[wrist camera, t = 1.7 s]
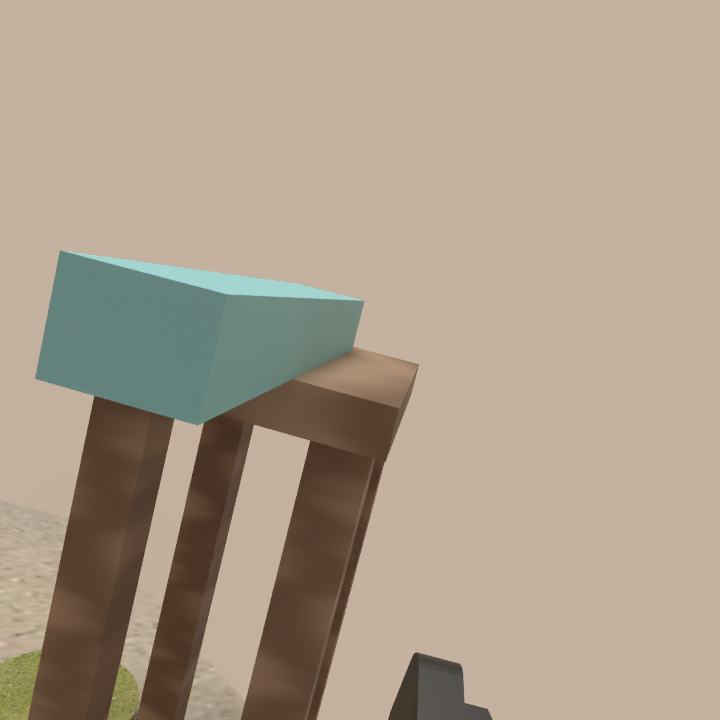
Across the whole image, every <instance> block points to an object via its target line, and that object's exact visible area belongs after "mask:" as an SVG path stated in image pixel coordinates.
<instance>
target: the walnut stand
mask: <svg viewBox="0 0 720 720" xmlns="http://www.w3.org/2000/svg"><path fill="white" fill-rule="evenodd" d="M418 366H419V364H415V363H411V362H407V361H404V360H400V359H396V358H393V357H389V356H385V355H381V354H377V353H374V352H369V351H366V350H362V349H359V348H355V347H353V348H352V350H351V351H349V352H347V353H345V354H343V355H341V356H339V357H337V358H335V359H333V360H331V361H329V362H327V363H325V364H323V365H321V366H318V367H316V368H314V369H312V370H310V371H308V372H306V373H304V374H302V375H300V376H298V377H296V378H294V379H292V380H290V381H288V382H286V383H284V384H282V385H280V386H277V387H275V388H273V389H271V390H269V391H267V392H265V393H263V394H261V395H259V396H257V397H255V398H253V399H251V400H249V401H247V402H245V403H243V404H241V405H239V406H237V407H234V408H232V409H230V410H228V411H226V412H224V413H222V414H220V415H218V416H216V417H214V418H212V419H210V420H208V421H206V422H204V425H203V430H202V434H201V439H200V443H199V447H198V452H197V456H196V461H195V465H194V469H193V474H192V478H191V482H190V487H189V491H188V496H187V500H186V505H185V509H184V514H183V518H182V522H181V526H180V531H179V535H178V539H177V544H176V548H175V553H174V557H173V561H172V566H171V570H170V575H169V579H168V583H167V588H166V592H165V597H164V601H163V605H162V610H161V614H160V618H159V623H158V627H157V632H156V636H155V640H154V645H153V649H152V654H151V658H150V662H149V667H148V671H147V675H146V680H145V684H144V689H143V693H142V697H141V702H140V706H139V711H138V715H137V719H136V720H184V717H185V712H186V708H187V704H188V700H189V696H190V691H191V687H192V683H193V679H194V674H195V670H196V666H197V662H198V658H199V653H200V649H201V645H202V640H203V637H204V632H205V628H206V624H207V620H208V615H209V611H210V607H211V603H212V598H213V594H214V590H215V585H216V582H217V578H218V573H219V569H220V564H221V561H222V557H223V552H224V548H225V544H226V540H227V535H228V531H229V527H230V523H231V519H232V514H233V510H234V506H235V501H236V497H237V493H238V489H239V485H240V480H241V477H242V472H243V468H244V464H245V460H246V455H247V451H248V447H249V443H250V439H251V434H252V430H253V426H254V425H258V426H261V427H265V428H268V429H272V430H275V431H279V432H282V433H286V434H289V435H293V436H296V437H300V438H304V439H307V440H310V445H309V448H308V452H307V457H306V460H305V465H304V469H303V472H302V476H301V480H300V484H299V489H298V493H297V496H296V500H295V505H294V508H293V513H292V517H291V521H290V525H289V529H288V533H287V537H286V541H285V545H284V549H283V553H282V557H281V561H280V565H279V569H278V573H277V577H276V581H275V585H274V589H273V593H272V597H271V601H270V605H269V609H268V613H267V617H266V621H265V625H264V629H263V634H262V637H261V641H260V645H259V649H258V653H257V657H256V661H255V665H254V669H253V673H252V677H251V681H250V685H249V689H248V693H247V697H246V701H245V705H244V709H243V713H242V717H241V720H317V716H318V712H319V709H320V705H321V701H322V697H323V693H324V690H325V686H326V682H327V678H328V674H329V671H330V667H331V663H332V659H333V655H334V652H335V648H336V644H337V640H338V637H339V633H340V629H341V625H342V621H343V617H344V614H345V610H346V606H347V602H348V598H349V594H350V591H351V587H352V583H353V579H354V575H355V572H356V568H357V564H358V561H359V557H360V553H361V549H362V546H363V541H364V538H365V534H366V530H367V527H368V523H369V519H370V515H371V511H372V508H373V504H374V500H375V496H376V492H377V489H378V484H379V481H380V477H381V474H382V470H383V466H384V462H385V461H386V459H387V456H388V454H389V451H390V448H391V446H392V443H393V441H394V438H395V435H396V433H397V430H398V428H399V425H400V422H401V419H402V417H403V414H404V412H405V409H406V407H407V404H408V401H409V399H410V396H411V393H412V389H413V385H414V381H415V377H416V374H417V370H418ZM173 422H174V418H170V417H167V416H163V415H160V414H156V413H153V412H149V411H146V410H142V409H139V408H135V407H132V406H129V405H125V404H122V403H118V402H115V401H111V400H108V399H104V398H101V397H97V396H94V400H93V405H92V410H91V415H90V420H89V425H88V429H87V435H86V439H85V444H84V449H83V454H82V458H81V464H80V469H79V474H78V478H77V483H76V488H75V493H74V498H73V502H72V507H71V512H70V517H69V521H68V526H67V531H66V536H65V541H64V546H63V551H62V555H61V560H60V565H59V570H58V575H57V580H56V585H55V589H54V594H53V599H52V604H51V609H50V614H49V618H48V623H47V628H46V633H45V638H44V643H43V648H42V652H41V657H40V662H39V667H38V672H37V677H36V681H35V686H34V691H33V696H32V701H31V706H30V711H29V715H28V720H107V719H108V715H109V710H110V706H111V701H112V697H113V692H114V688H115V683H116V679H117V674H118V670H119V665H120V661H121V656H122V652H123V647H124V643H125V638H126V634H127V629H128V625H129V620H130V616H131V611H132V607H133V602H134V598H135V593H136V589H137V584H138V580H139V575H140V571H141V566H142V562H143V557H144V553H145V548H146V544H147V539H148V534H149V530H150V526H151V521H152V517H153V512H154V507H155V503H156V499H157V494H158V489H159V485H160V480H161V476H162V471H163V467H164V463H165V458H166V453H167V449H168V444H169V440H170V436H171V431H172V427H173Z"/></svg>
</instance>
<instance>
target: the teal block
mask: <svg viewBox="0 0 720 720" xmlns="http://www.w3.org/2000/svg"><path fill="white" fill-rule="evenodd" d="M363 304H364V301H363V300H359V299H355V298H351V297H348V296H344V295H340V294H335V293H332V292H328V291H324V290H320V289H316V288H312V287H309V286H305V285H301V284H295V283H288V282H280V281H274V280H267V279H259V278H252V277H245V276H238V275H231V274H224V273H216V272H209V271H203V270H196V269H189V268H181V267H174V266H167V265H160V264H153V263H146V262H138V261H132V260H124V259H117V258H110V257H103V256H96V255H89V254H82V253H75V252H68V251H60V254H59V259H58V264H57V269H56V274H55V280H54V284H53V290H52V295H51V300H50V305H49V310H48V315H47V320H46V326H45V331H44V336H43V342H42V346H41V351H40V356H39V362H38V367H37V372H36V377H35V379H38V380H41V381H45V382H48V383H52V384H55V385H59V386H62V387H66V388H69V389H73V390H76V391H80V392H83V393H87V394H90V395H94V396H97V397H101V398H104V399H108V400H111V401H115V402H118V403H122V404H125V405H129V406H132V407H135V408H139V409H142V410H146V411H149V412H153V413H156V414H160V415H163V416H167V417H170V418H174V419H177V420H181V421H184V422H188V423H192V424H195V425H199V424H202V423H204V422H206V421H208V420H210V419H212V418H214V417H216V416H218V415H220V414H222V413H224V412H226V411H228V410H230V409H232V408H234V407H237V406H239V405H241V404H243V403H245V402H247V401H249V400H251V399H253V398H255V397H257V396H259V395H261V394H263V393H265V392H267V391H269V390H271V389H273V388H275V387H277V386H280V385H282V384H284V383H286V382H288V381H290V380H292V379H294V378H296V377H298V376H300V375H302V374H304V373H306V372H308V371H310V370H312V369H314V368H316V367H318V366H321V365H323V364H325V363H327V362H329V361H331V360H333V359H335V358H337V357H339V356H341V355H343V354H345V353H347V352H349V351H351V350H352V348H353V344H354V340H355V336H356V332H357V328H358V324H359V320H360V316H361V312H362V308H363Z"/></svg>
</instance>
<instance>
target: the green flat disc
mask: <svg viewBox="0 0 720 720" xmlns="http://www.w3.org/2000/svg"><path fill="white" fill-rule="evenodd" d="M41 652H42V650H41V651H36V652H31V653H29V654H23V655H20V656H19V657H15V658H12V659H10V660H7V661H6V662H4V663H3V664H0V720H28V715H29V711H30V706H31V701H32V696H33V691H34V686H35V681H36V677H37V672H38V667H39V662H40V657H41ZM136 685H137V683H136V681H135V679H134V678H133V676H132V675H131V673H129V671H127V669H126V668H124V667H121V665H119V670H118V674H117V679H116V683H115V688H114V692H113V697H112V701H111V706H110V710H109V715H108V719H107V720H130V719H131V718H132V717H133V715H134V713H135V712H136V709H137V705H138V703H139V702H138V701H139V692H138V687H137V686H136Z"/></svg>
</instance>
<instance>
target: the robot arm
mask: <svg viewBox="0 0 720 720" xmlns="http://www.w3.org/2000/svg"><path fill="white" fill-rule="evenodd" d="M388 720H492V718H491V716H490V713H489V711H488V709H485V708H481V707H478V706H474V705H470V704H466V703H464V685H463V671H462V667H461V665H460V664H459V663H455V662H451V661H447V660H444V659H440V658H436V657H432V656H428V655H425V654H421V653H417V652H416V653H414V655H413V657H412V659H411V661H410V664H409V666H408V669H407V671H406V674H405V676H404V679H403V681H402V684H401V687H400V689H399V692H398V694H397V697H396V699H395V702H394V704H393V707H392V710H391V712H390V716H389V719H388Z"/></svg>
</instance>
